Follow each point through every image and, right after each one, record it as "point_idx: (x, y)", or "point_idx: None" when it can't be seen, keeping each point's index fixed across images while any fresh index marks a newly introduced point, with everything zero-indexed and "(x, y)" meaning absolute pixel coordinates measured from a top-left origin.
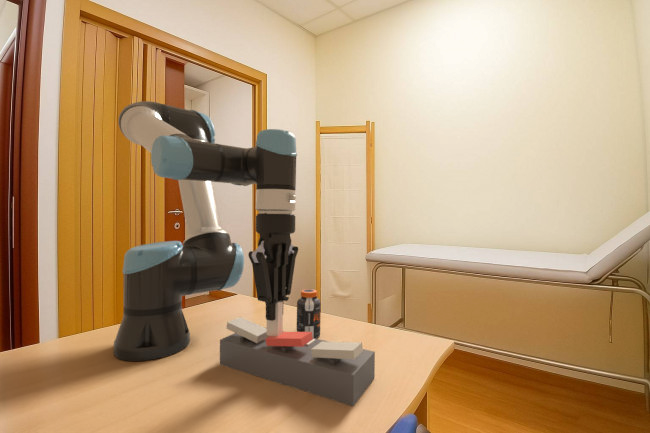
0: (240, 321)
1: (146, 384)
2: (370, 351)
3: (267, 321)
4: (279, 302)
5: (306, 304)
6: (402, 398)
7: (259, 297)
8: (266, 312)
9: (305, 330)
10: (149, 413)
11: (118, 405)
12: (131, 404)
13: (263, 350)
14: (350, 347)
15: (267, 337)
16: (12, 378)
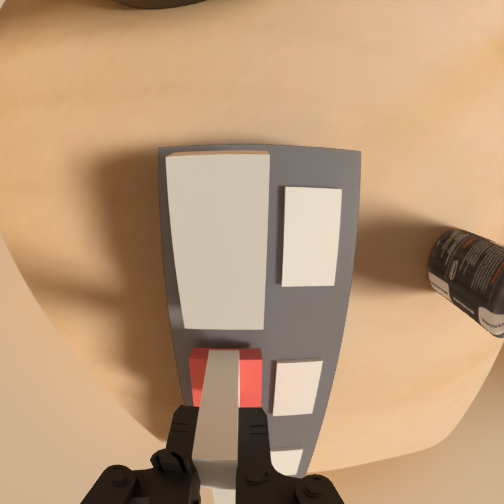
0: (224, 195)
1: (48, 103)
2: (301, 476)
3: (203, 388)
4: (216, 487)
5: (493, 317)
6: None
7: (106, 482)
8: (171, 431)
9: (441, 281)
10: (11, 207)
11: (3, 142)
12: (10, 156)
13: (178, 342)
14: (228, 501)
15: (196, 361)
16: None
